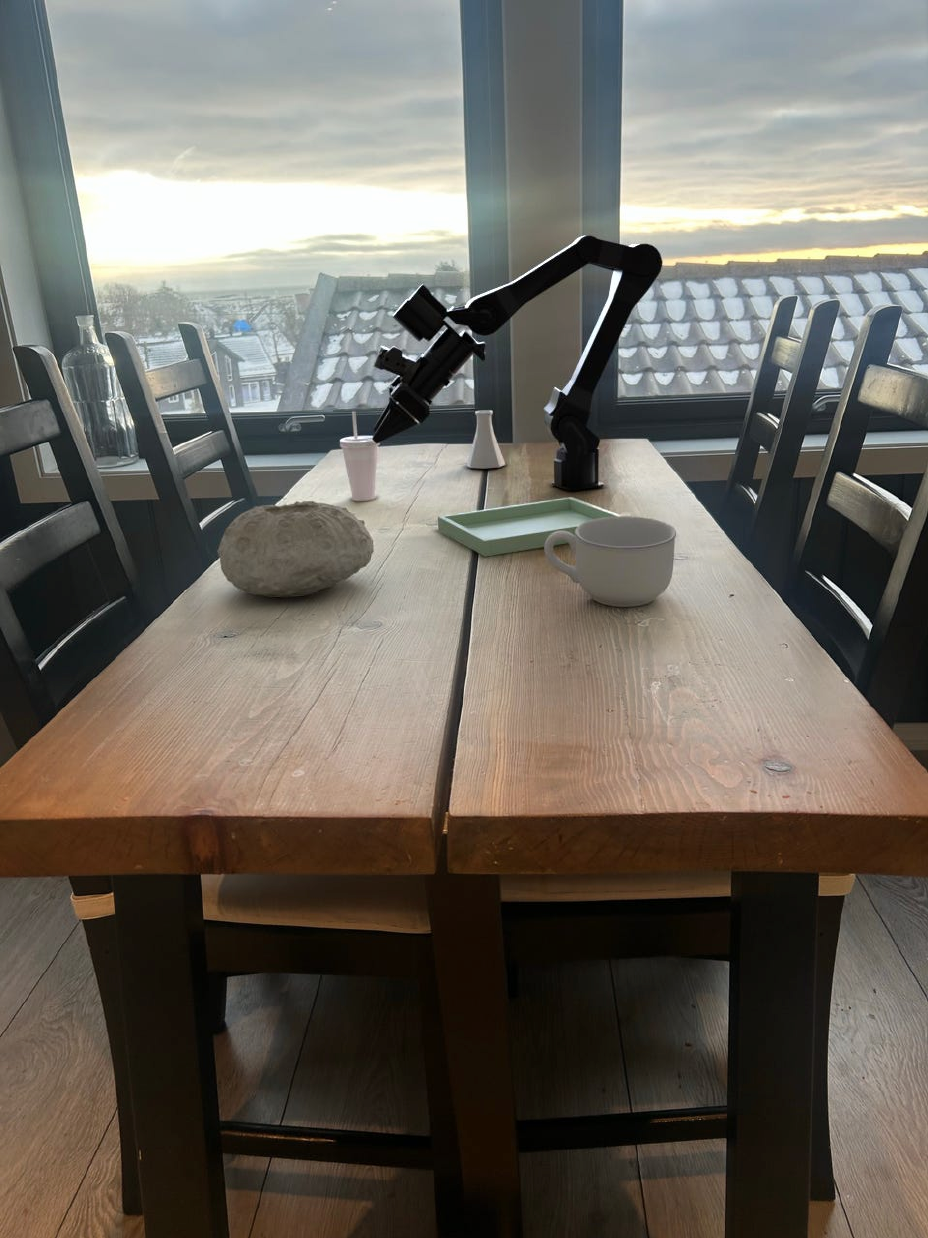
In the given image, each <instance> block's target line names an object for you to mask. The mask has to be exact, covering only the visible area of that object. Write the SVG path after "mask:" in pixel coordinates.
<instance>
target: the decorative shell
mask: <svg viewBox="0 0 928 1238" xmlns="http://www.w3.org/2000/svg"><path fill="white" fill-rule="evenodd" d="M365 523H366V522H365V520H364V519H362V520H361V519H359V518H358V517H357V516H356V515H355V514H354V513H352V512H350V511H349V509H348V508H347V507H341V506H339V505H335V504H334V505H333V504H329V503H325V502H324V503H323V502H316V501H314V500H303V501H297V500H296V501H295V502H294V503H289V504H282V505H276V504H268V505H267V504H266V505H258V506H257V505H254V506H253V507H252V508H250V509H248V510H246V511H244V512H242V513H240V514H239V515H238V516H236V517H235V518H234V519H233V520H232V521H231V523H230V524H229V525H228V527H226V528H225V531H224V533H223V536H222V538H221V540H220V542H219V547H218V549H217V550H216V551H217V555H218V557H219V564H220V570H221V572H222V574H223V575H224V576H225V579H226V580H227V582H229V583H231V584H232V586H233V587H234V588H236V589H238V590H240V591H242V592H244V593H249V594H251V595H257V596H265V597H269V598H277V597H279V598H280V597H281V598H289V597H301V596H302V597H303V596H307V595H311V594H312V595H313V594H314V593H316V592H319V591H321V590H323V589H328V588H329V589H330V588H331V587H335V586H336V585H338V584H339V583H340V582H342V581H345V580H347V579H349V578H351V576H353V575H354V574H356V573H359V571H360V570H361V569H362V568H365V567H367V566H368V564H370V563H371V560H372V557H373V554H374V552H375V548H374V547H375V546H374V539H373V537H372V535H371V534H370V532H369V530H368V529H367V527H366V526H365Z"/></svg>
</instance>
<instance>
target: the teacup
mask: <svg viewBox="0 0 928 1238" xmlns="http://www.w3.org/2000/svg"><path fill="white" fill-rule="evenodd" d="M676 537H677V530H676V528H675V527H674V526H672V525H671V524H669V523H666V522H664V521H661V520H658V519H654V518H650V517H649V518H648V517H640V516H631V515H622V516H617V517H604V518H598V519H593V520H590V521H586V522H584V523H582V524H580V525H579V526H578V527H577V528H576V530H575V535H573V534H572V533H570V532H567V531H556V532H554V533H552V534H551V535H550V536H549V537H548V538H547V540H546V542H545V546H544V547H543V549H544V555H545V558H546V559H547V561H548V563H550V564H551V566H552V567H554V568H555V569H556V570H558V571H559V572H561V573H563V574H565V575H566V576H568V577H569V579H570V580H571V581H572V582H573V583H575V584H579V586H580V587H581V588H582V590H583V591H584V592H585V593H586V594H588V595H589V596H590V597H591V598H592V599H593V600H594V601H595V602H598V603H600V604H602V605H604V606H609V607H614V608H615V607H616V608H634V607H640V606H644V605H645V606H646V605H648V604H649V603H651V602H652V601H654V600H655V599H656V598H657V597H659V596H660V595H662V594H663V593H664V592H665V591H666V590H667V589H668V587H669V586H670V584H671V582H672V577H673V572H674V560H675V542H676V541H675V540H676ZM559 540H564V541H566V542H568V543H567V544H568V545H569V546H570V549H571V552H572V553H571V554H572V555H574V556H575V566H572V565H569V564H567V563H565V562H563V561H562V560H561V559H560V558H558V556H556V554H555V551H554V547H555V545H554V544H555V542H557V541H559Z"/></svg>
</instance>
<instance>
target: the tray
mask: <svg viewBox="0 0 928 1238" xmlns="http://www.w3.org/2000/svg"><path fill="white" fill-rule="evenodd" d="M617 516H623V515H621V514H619V513H616V512H613V511H610V510H608V509H605V508H602V507H600V506H597V505H594V504H591V503H589V502H586V501H583V500H580V499H578V498H575V497H573V496H569V497H562V498H561V497H560V498H556V499H555V498H554V499H549V500H541V501H534V502H527V503H520V504H513V505H506V506H501V507H500V506H499V507H494V508H493V507H492V508H487V509H486V508H485V509H480V510H471V511H465V512H459V513H452V514H445V515H438V516H437V531H438V532H439V533H441V534H443V535H445V536H447V537H449V538H450V539H452V540H455V541H456V542H458V543H460V544H461V545H463V546H465V547H466V548H469V549H470V550H473V551H474V552H476V553H477V554H479V555H481V556H482V557H484V558H485V557H492V556H497V555H498V556H499V555H505V554H510V553H515V552H523V551H529V550H535V549H542V548H544V546H545V542H546V540H547V538H548V537H549V536H550V535H551V534H552V533H554V532H556V531H567V532H570V533H572V534H573V535H575V530H576V528H577V527H578V526H579V525H580V524H582V523H584V522H586V521H590V520H593V519H598V518H604V517H617ZM565 544H566V545H567V544H569V543H568V542H566V541H564V540H559V541H557V542H555V544H554V546H559V545H565Z"/></svg>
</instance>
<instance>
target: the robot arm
mask: <svg viewBox="0 0 928 1238" xmlns="http://www.w3.org/2000/svg"><path fill="white" fill-rule="evenodd" d="M587 265H592V266H595V267H599V268H602V269H605V270H608V271H612V275H611V279H610V287H609V292H608V297H607V300H606V302H605V305H604V306H603V309H602V311H601V312H600V316H599V317H598V320H597V322H596V324H595V326H594V328H593V331H592V333H591V334H590V337H589V339H588V341H587V344H586V346H585V348H584V350H583V353H582V354H581V357H580V359H579V361H578V363H577V365H576V367H575V369H574V372H573V374H572V376H571V378H570V380H569V382H568V383H566V385H565V386H564V387H563V389H562V390H561V389H559V388H557V387H556V386H555V387H553V389H552V392H551V396H550V399H549V402H548V403H547V405H546V406H545V407H544V408H543V411H544V412H545V415H544V425H545V428H546V430H547V431H548V432H549V433H550V435H551V436H552V437H553V438H554V439H555V440H557V443H558V445H559V446H560V448H557V449H555V458H554V459H553V481H552V482H551V485H552V486H554V487H557V488H559V489H563V490H564V491H568V492H575V491H581V490H589V489H596V488H603V487H605V483H603V482H600V476H599V475H600V470H599V469H600V448H599V446H600V443H601V439H600V438H599V437H598V436H597V435H596V434H595V433H594V432H593V431H592V430H591V429H589V428H588V427H587V425H588V423H589V419H590V417H591V411H592V405H593V399H594V393H595V391H596V389H597V386H598V385H599V381H600V380H601V378H602V376H603V374H604V371H605V369H606V367H607V365H608V363H609V361H610V358H611V357H612V354H613V352H614V350H615V348H616V346H617V344H618V341H619V339H620V337H621V335H622V333H623V331H624V329H625V327H626V325H627V322H628V320H629V318H630V316H631V314H632V312H633V310H634V308H635V306H637V304H638V303H639V302H640V301H641V300H642V298H643V297H644V296H645V295H646V293H648V291H649V290H650V289H651V287H652V285H653V284H654V282H655V281H656V279H657V278H658V277H659V275H660V273H661V271H662V269H663V258H662V255H661V252H660V251H659V249H658V248H656V246H654V245H653V244H650V243H636V244H630V245H627V244H623V243H617V242H614V241H609V240H604V239H601V238H597V237H596V236H594V235H589V234H588V235H582V236H578V237H577V238H576V239H575V240H574V241H573V242H572V243H571V244H569V245H568V246H566V247H565V248H563V249H562V250H560V251H558V252H557V253H555V254H553V255H552V256H551V257H549V258H548V259H546V260H544V261H543V262H542V263H539V264H538V265H536V266H535V267H533V268H531V269H530V270H529V271H527V272H525V273H524V274H523V275H520V276H519V277H517V278H516V279H515V280H513V281H511V282H509V283H507V284H504V285H501V286H499V287H497V288H494V289H491V290H489V291H486V292H484V293H481V294H478V295H476V296H474V297H472V298H471V299H469V300H468V301H467V303H466V304H465V305H461V306H456V307H454V306H453V305H452V306H451V307H450V308H446V306H444V304H442V303H441V302H440V301H439V300H438V299H437V297H435V296H434V295H433V293H432V292H431V290H430V289H429V288H428V287H427V286H426V285H425V284H421V285H420V286H419V287H418V288H417V289H416V290H415V291H414V292H413V293H412V295H411V296H409V298H406V299H405V301H403V303H402V304H401V305H400V306H399V308H398V309H397V310H396V311H395V313H394V314H393V315H392V318H393V319H394V321H396V322H397V323H398V324H399V325H400V326H401V327H402V328H403V329H404V330H405V331H406V332H408V333H409V334H410V335H411V336H412V337H413V338H414V339H415V340H416V341H417V342H421V341H422V340H423V339H424V340H425V341H427V342H431V340H433V338H434V337H435V336H436V335H438V333H439V332H440V331H441V329H442V328H443V327H445V329H444V331H442V333H440V335H439V336H438V337H437V338H436V340H434V342H433V343H432V344H431V345H430V346H429V347H428V348H427V350H426V351H424V353H422V354H420V353H419V354H418V355H417V357H415V359H414V358H412V357H410V356H408V355H405V354H403V349H402V348H398V347H396V346H394V345H393V346H392V347H390V348H389V347H387V346H384V345H380V347H379V350H378V352H377V354H376V358H375V360H374V363H373V367H374V368H376V369H377V370H378V369H379V370H381V371H383V370H384V371H386V372H389V373H391V374H394V375H396V376H395V377H394V379H392V381H391V382H390V385H389V386H388V395H389V396H388V403H387V404H386V406H385V409H384V410H383V412H381V415H380V416H379V418H378V420H377V421H376V424H375V425H374V426H373V429H372V431H373V432H374V434H373V435H372V436H373V438H372V440H373V441H374V442H375V443H380V444H381V443H382V442H383V441H384V442H385V441H386V440H388V439H390V438H392V437H395V436H397V435H399V434H401V433H404V432H405V431H407V430H410V429H412V428H414V427H417V426H419V425H420V424H423V423H424V422H425V421H426V419H427V418H428V417H429V416H430V415H431V414H430V406H431V405H432V404H433V402H434V401H433V400H434V399H435V397H436V396H437V395H438V394H439V393H441V391H442V390H443V389H444V387H448V385H449V384H450V383H451V380H452V379H453V378H454V376H455V375H456V374H457V373H458V372H459V371H460V370H461V368H462V367H463V366H464V365H465V364H466V363H467V362H468V360H469V359H471V357H472V356H474V355H475V356H476V357H477V359H479V360H480V361H481V362H484V361H486V359H487V358H486V346H487V343H486V342H485V341H481V342H479V341H477V340H476V339H475V338H474V337H473V336H472V335H471V334H470V333H469V332H467V331H466V330H462V331H461V332H460V333H458V332H457V331H456V330H455V329H454V328H453V327H452V326H451V325H450V324H449V323H448V322H447V321H446V320H445V319H446V318H448V319H450V320H451V322H453V323H454V324H456V325H458V326H464V327H465V326H466V327H467V328H468V329H469V330H470V331H471V332H473V333H474V334H476V335H478V336H483V337H486V336H487V337H488V336H490V335H493V334H494V333H496V332H497V331H498V330H500V329H501V328H502V327H503V326H504V325H505V324H506V323H507V322H508V321H509V320H511V318H513V316H515V314H516V313H518V311H519V310H520V309H522V307H524V306H525V304H527V303H529V302H530V301H532V300H534V299H535V298H536V297H538V296H540V295H542V294H543V293H544V292H546V291H547V290H549V289H551V288H553V287H554V286H556V285H557V284H559V283H560V282H562V281H563V280H565V279H567V278H568V277H569V276H571V275H572V274H574V273H576V272H577V271H579V270H581V269H583V268H584V267H585V266H587ZM394 387H395V388H394Z"/></svg>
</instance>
